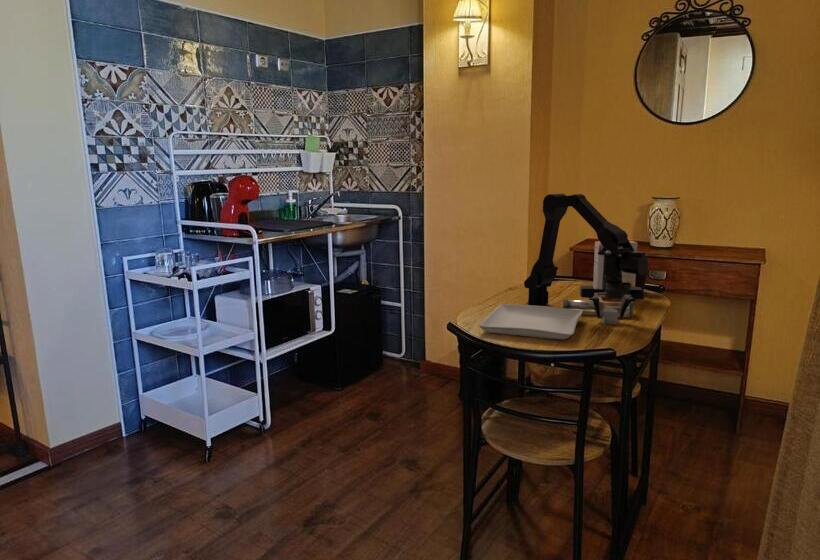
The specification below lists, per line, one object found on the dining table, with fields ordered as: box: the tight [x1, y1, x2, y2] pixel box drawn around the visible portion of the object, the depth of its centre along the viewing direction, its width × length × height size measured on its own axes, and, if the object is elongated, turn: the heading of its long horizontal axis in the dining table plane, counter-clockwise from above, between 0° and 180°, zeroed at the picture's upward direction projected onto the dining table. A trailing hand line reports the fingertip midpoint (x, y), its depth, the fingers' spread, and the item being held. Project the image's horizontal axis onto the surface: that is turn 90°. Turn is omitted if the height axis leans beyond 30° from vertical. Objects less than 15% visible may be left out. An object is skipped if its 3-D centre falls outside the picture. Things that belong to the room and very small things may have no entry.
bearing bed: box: [574, 297, 634, 318], centre depth 191 cm, size 20×7×5 cm, turn 79°
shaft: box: [562, 298, 596, 310], centre depth 192 cm, size 12×4×4 cm, turn 79°
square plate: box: [478, 303, 583, 340], centre depth 177 cm, size 27×27×4 cm
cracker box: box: [592, 240, 638, 299], centre depth 212 cm, size 14×6×21 cm, turn 89°
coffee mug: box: [635, 268, 649, 292], centre depth 222 cm, size 12×9×10 cm
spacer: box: [601, 308, 619, 325], centre depth 181 cm, size 4×4×4 cm
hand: (609, 318), depth 181 cm, fingers open, 6 cm apart
